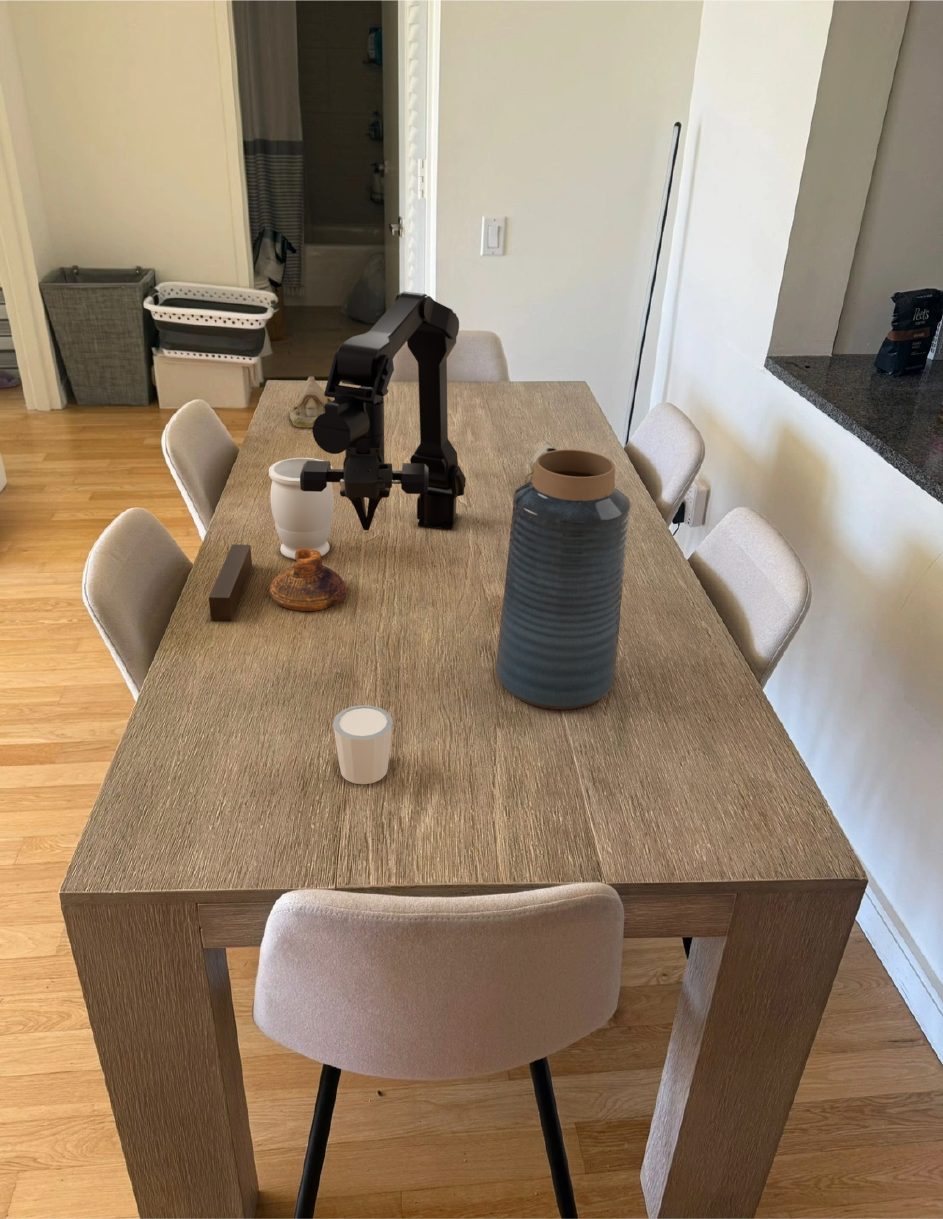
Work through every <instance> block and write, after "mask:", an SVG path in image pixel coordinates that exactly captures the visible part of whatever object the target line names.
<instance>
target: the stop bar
mask: <svg viewBox="0 0 943 1219" xmlns="http://www.w3.org/2000/svg"><path fill="white" fill-rule="evenodd" d="M252 568H253V558H252V546H251V544H231V546H230V548H229V550H228V553H227V555H226V557H225V559H224V562H223V564H222V566H221V569H220V571H219V573H218V575H217V578H216V580H215V583H214V584H213V587H212V589H211V591H210V594H209V596H208V604H209V614H210V621H212V622H233V619H234V616H235V613H236V610H237V607H238V604H239V603H240V599H241V597H242V594H243V592H244V590H245V586H246V584H247V581H248V579H249V576H250V574H251V571H252Z"/></svg>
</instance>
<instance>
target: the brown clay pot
mask: <svg viewBox="0 0 943 1219" xmlns="http://www.w3.org/2000/svg"><path fill="white" fill-rule="evenodd" d="M295 559H296V560H295ZM295 559H294V560H295V562H296V563H295V564H294V565H292V566H290V567H287V568H286V569H284V570H281V572H279V573H278V574H277V575H275V577H274V579H273V580H272V581H271V583H270V585H269V596H270V598H271V599H272V601H273V602H274V603H275V604H277V605H278V606H280V607H283V608H285V609H289V610H292V611H293V610H294V611H299V612H300V611H301V612H314V611H315V612H316V611H320V610H325V609H327V608H329V607H331V606H333V605H336V604H339V603H340V602H342V601H343V599H344V598H345V596H346V594H347V585H346V584H345V581H344V580H343V579H342V578H341V576H340V575H339V573H337V572H336V571H335V570H333V569H332V568H330V567H328V566H326V565H323V556H321V554H320V552H319V551H317V550H312V549H305V548H303V549H298V550H297V551H296V553H295Z"/></svg>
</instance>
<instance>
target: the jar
mask: <svg viewBox="0 0 943 1219" xmlns="http://www.w3.org/2000/svg"><path fill="white" fill-rule="evenodd" d="M307 461H324V460H322V459H319V458H313V457H292V458H286V459H282V460H279V461H276V462H274V463H273V464H271V465H270V466H269V468H268V477H269V478H270V479H271V487H270V508H271V514H272V518H273V520H274V526H275V531H276V533H277V536H278V538H279V539H280V542H281V545H280V548H279V550H280V553H281V554H282V556H284V557H286V558H288V559H290V560H295V561H296V559H295V553H296V551H297V550H298V549H303V548H305V549H312V550H317V551H319V552H320V554H321V556H322V557H324V556H325V555H326V554H328V552H329V551H330V543H329V542H328V539H329V537H330V535H331V531H332V525H333V518H334V508H335V506H334V505H335V500H334V499H335V497H334V491H333V490H334V489H333V485H332V484H333V483H332V482H327V487H326V488H325V489H324V490H323V491H322V492H313V491H302V490H301V489H300V474H301V471H302V468H303V465H304V464H305V463H306V462H307ZM331 469H333V466H332V465H331Z"/></svg>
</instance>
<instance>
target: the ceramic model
mask: <svg viewBox="0 0 943 1219" xmlns="http://www.w3.org/2000/svg"><path fill="white" fill-rule="evenodd" d="M324 393H325V389H323V388H322V386H321V385H320V384H319V383H318V382H317V381H316V379H315V377H314V376H313V375H312V376H311V375H309V376H308V378H307V380H306V381H305V383H304V384H303V385H302V386H300V389H299V391H297V393H296V404H295V406H293V407H292V408H291V410H290V412H289V417H290V420H291V423H292V424H293V425H294V427H297V428H312V427H313V425H314V422H315V420H316V418H317V417H318V416H319V415H321V414H322V413H324V412H325V404H326V403H328V402H330V401H334V398H332V397H326V396H325V395H324Z"/></svg>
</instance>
